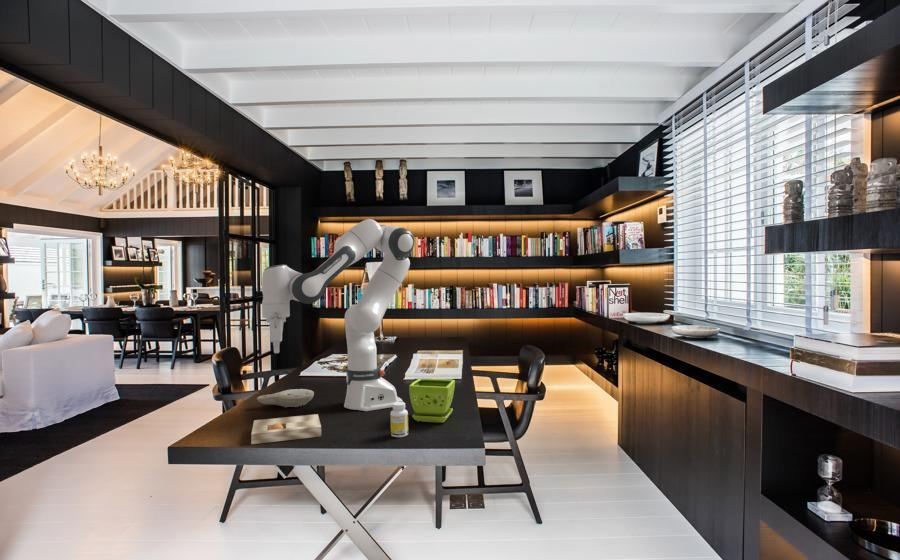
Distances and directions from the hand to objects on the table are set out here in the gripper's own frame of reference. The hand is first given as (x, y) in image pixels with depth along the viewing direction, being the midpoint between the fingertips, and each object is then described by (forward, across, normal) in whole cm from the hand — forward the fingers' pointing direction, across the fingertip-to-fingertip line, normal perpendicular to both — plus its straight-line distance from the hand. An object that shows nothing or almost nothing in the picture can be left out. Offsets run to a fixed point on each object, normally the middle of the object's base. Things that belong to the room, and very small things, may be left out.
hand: (276, 352), depth 162 cm
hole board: (+24, -13, -3) cm, 27 cm away
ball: (+22, -15, 0) cm, 27 cm away
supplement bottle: (+24, -28, -36) cm, 52 cm away
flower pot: (+24, -15, -51) cm, 58 cm away
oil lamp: (+24, +22, -3) cm, 33 cm away
